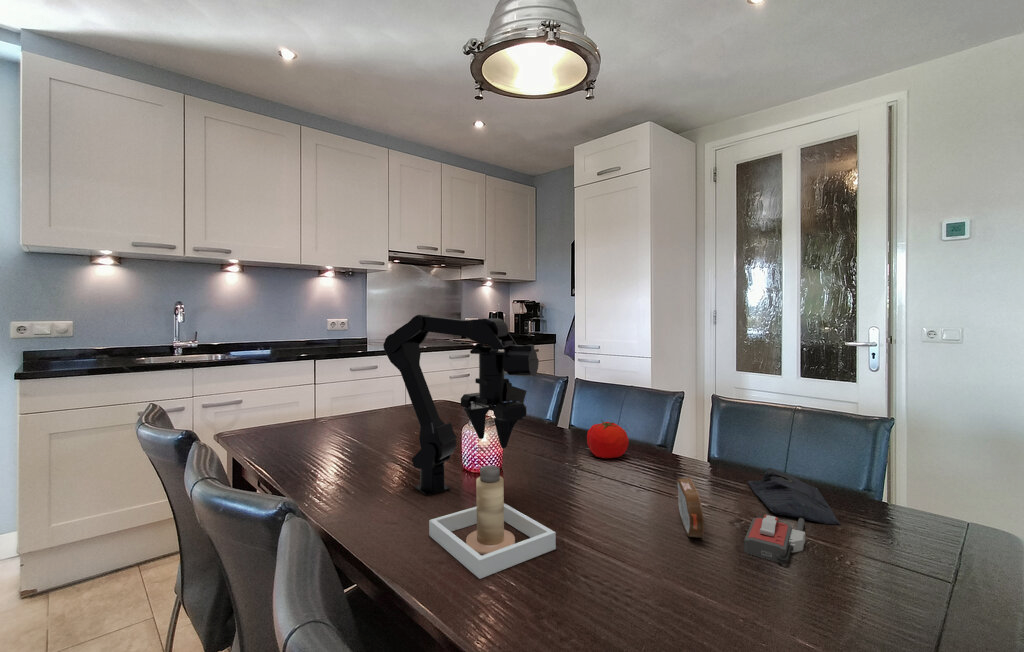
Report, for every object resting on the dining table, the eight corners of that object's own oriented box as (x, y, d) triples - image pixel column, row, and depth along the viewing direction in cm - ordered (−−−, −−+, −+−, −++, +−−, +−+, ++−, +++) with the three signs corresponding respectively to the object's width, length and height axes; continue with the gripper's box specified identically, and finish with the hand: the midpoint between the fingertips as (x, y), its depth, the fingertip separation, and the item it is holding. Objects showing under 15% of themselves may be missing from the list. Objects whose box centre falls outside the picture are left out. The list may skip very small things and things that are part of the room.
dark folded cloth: (758, 518, 96) (758, 495, 96) (746, 482, 117) (746, 464, 117) (846, 530, 91) (846, 506, 91) (817, 490, 112) (817, 471, 111)
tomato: (594, 448, 145) (594, 415, 145) (634, 455, 138) (634, 421, 138) (578, 457, 136) (578, 422, 136) (619, 465, 129) (619, 428, 129)
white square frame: (429, 535, 88) (429, 520, 88) (498, 514, 98) (498, 500, 98) (479, 578, 74) (479, 560, 74) (555, 548, 83) (555, 532, 83)
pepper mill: (471, 537, 86) (471, 467, 86) (494, 529, 89) (493, 462, 89) (486, 548, 82) (485, 475, 82) (509, 539, 85) (508, 469, 85)
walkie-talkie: (800, 574, 76) (808, 528, 92) (800, 547, 75) (808, 505, 92) (740, 557, 81) (758, 516, 97) (741, 532, 81) (758, 495, 97)
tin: (705, 546, 84) (705, 500, 84) (687, 544, 85) (687, 499, 84) (690, 511, 99) (690, 472, 99) (675, 510, 99) (675, 471, 99)
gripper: (546, 375, 102) (546, 446, 102) (498, 367, 117) (498, 429, 117) (504, 379, 95) (504, 455, 95) (459, 371, 110) (459, 436, 111)
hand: (492, 443), depth 105 cm, fingers open, 9 cm apart
